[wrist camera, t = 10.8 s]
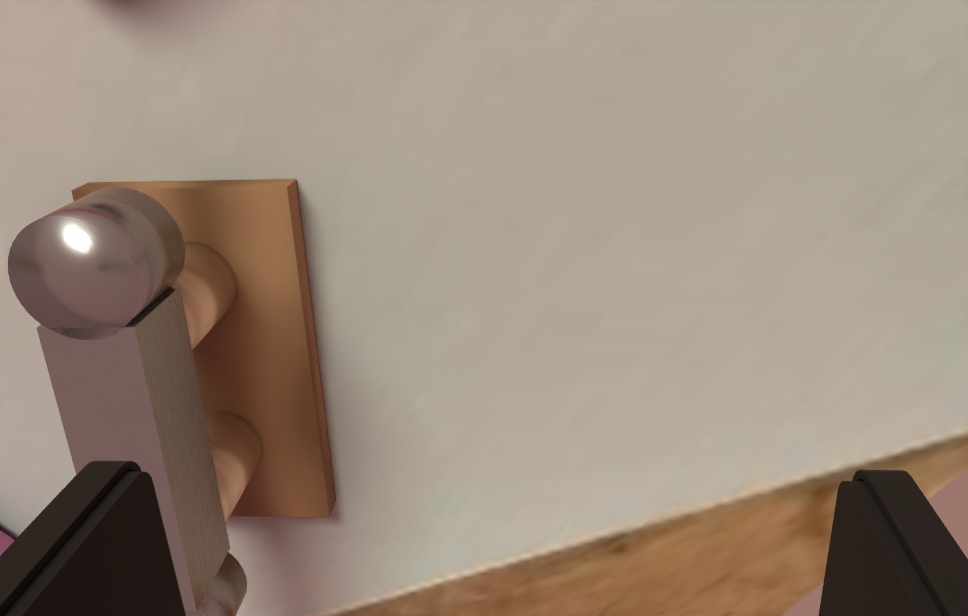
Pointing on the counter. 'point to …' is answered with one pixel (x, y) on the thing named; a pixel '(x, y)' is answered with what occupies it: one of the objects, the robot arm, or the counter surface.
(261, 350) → the tool rest
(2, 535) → the teapot
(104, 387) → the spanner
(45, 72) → the counter surface
